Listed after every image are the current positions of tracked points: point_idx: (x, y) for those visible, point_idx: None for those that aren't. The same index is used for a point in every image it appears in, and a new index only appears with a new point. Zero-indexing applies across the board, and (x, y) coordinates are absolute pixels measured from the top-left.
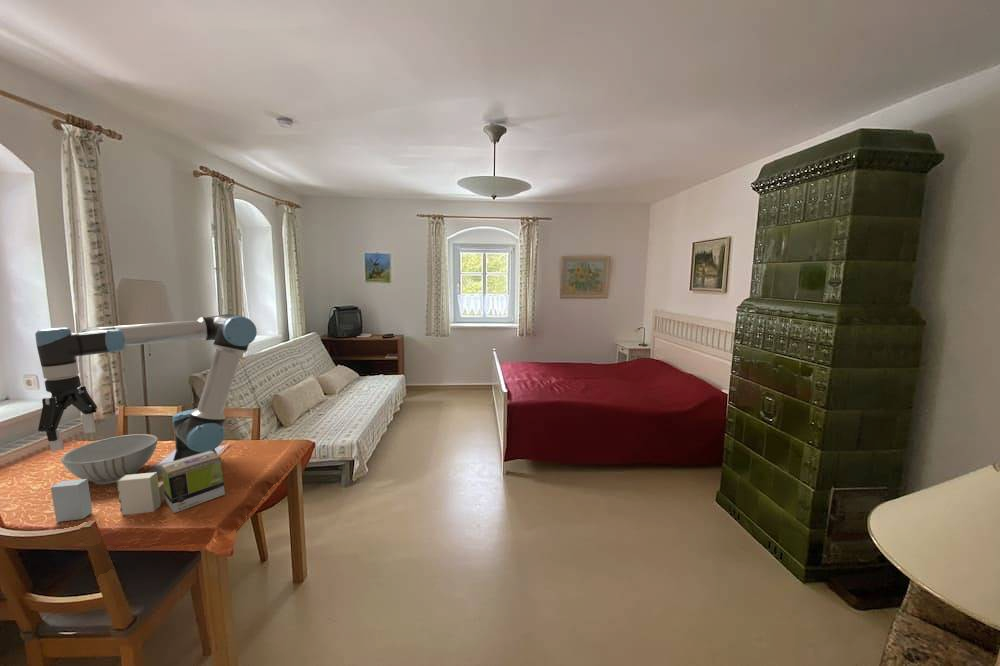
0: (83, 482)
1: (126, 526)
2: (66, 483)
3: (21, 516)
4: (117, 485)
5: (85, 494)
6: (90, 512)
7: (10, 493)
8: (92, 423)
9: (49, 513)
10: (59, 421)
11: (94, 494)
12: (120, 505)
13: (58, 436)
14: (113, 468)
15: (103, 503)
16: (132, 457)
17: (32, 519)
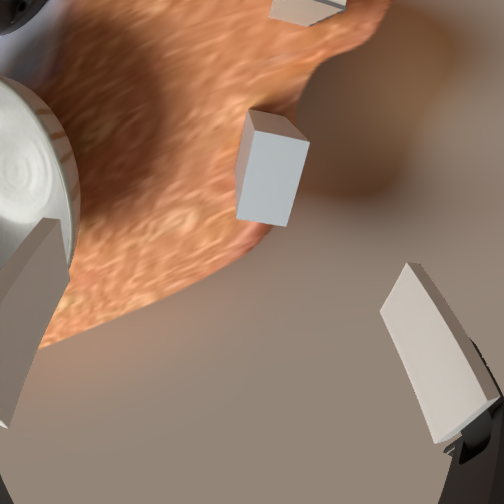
0: (279, 134)
1: (379, 7)
2: (272, 189)
3: (194, 266)
4: (340, 12)
5: (270, 123)
6: (255, 110)
7: (83, 328)
8: (15, 278)
9: (201, 216)
10: (497, 470)
11: (118, 160)
12: (315, 22)
13: (469, 347)
14: (64, 134)
15: (192, 104)
16: (27, 90)
17: (221, 237)
